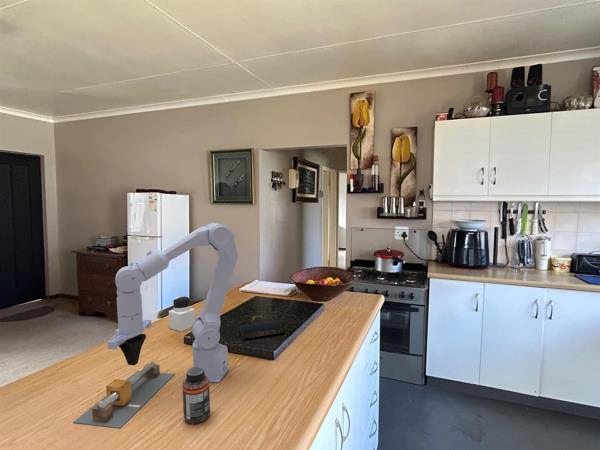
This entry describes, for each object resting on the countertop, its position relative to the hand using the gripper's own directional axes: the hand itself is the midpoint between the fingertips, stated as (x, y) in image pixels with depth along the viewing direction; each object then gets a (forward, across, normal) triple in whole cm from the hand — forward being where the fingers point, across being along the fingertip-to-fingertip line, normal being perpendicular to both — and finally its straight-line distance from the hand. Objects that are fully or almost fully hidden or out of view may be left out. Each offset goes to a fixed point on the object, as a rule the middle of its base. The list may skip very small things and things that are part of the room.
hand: (132, 363), depth 87 cm
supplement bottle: (+8, +7, +21) cm, 23 cm away
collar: (+8, +6, 0) cm, 10 cm away
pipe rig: (+8, +2, 0) cm, 8 cm away
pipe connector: (+9, -43, +22) cm, 49 cm away
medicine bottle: (+8, -43, -10) cm, 45 cm away
